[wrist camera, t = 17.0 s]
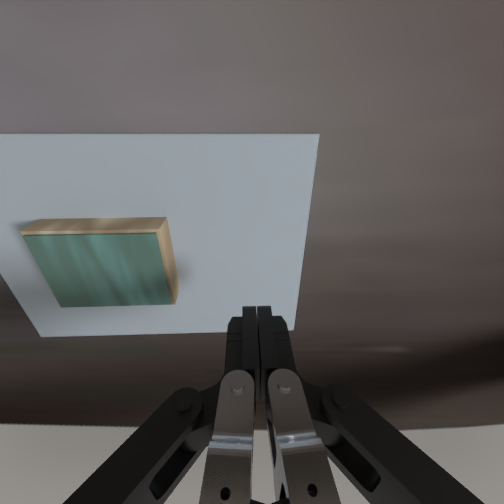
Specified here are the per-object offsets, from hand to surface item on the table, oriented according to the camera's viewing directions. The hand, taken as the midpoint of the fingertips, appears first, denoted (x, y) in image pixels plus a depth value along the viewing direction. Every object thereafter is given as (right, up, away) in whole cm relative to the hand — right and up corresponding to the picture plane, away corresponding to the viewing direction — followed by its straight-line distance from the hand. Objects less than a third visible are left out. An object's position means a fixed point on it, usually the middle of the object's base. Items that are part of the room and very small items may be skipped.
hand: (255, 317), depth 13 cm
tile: (-6, +3, +4) cm, 7 cm away
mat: (-7, +3, +5) cm, 10 cm away
